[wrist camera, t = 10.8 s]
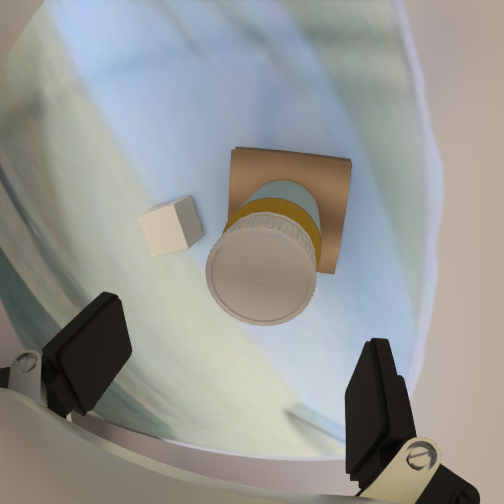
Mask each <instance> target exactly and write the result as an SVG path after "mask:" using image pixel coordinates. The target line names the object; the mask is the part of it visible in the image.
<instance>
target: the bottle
mask: <svg viewBox="0 0 504 504" xmlns="http://www.w3.org/2000/svg"><path fill="white" fill-rule="evenodd" d="M321 250H322V240H321V229H320V219H319V211H318V206H317V203H316V200H315V199H314V197H313V196H312V194H311V193H310V191H309V190H307V189H306V188H305V187H304V186H303V185H301V184H299V183H296V182H294V181H290V180H276V181H272V182H269V183H267V184H265V185H264V186H262V187H261V188H259V189H258V190H257V191H256V192H255V193H254V194H253V195H252V196H251V197H250V198H249V199H248V200H247V201H246V202H245V203H244V204H243V205H242V206H241V207H240V208H239V209H238V210H237V211H236V212H235V213H234V214H233V215H232V217H231V218H230V219H229V221H228V222H227V224H226V226H225V229H224V232H223V235H222V236H221V237H220V238H219V239H218V241H217V242H216V243H215V244H214V246H213V248H212V249H211V251H210V254H209V255H208V260H207V264H206V281H207V285H208V288H209V291H210V293H211V295H212V297H213V298H214V300H215V301H216V303H217V304H218V305H219V306H220V307H221V308H222V309H223V310H224V311H225V312H226V313H228V314H229V315H230V316H232V317H234V318H235V319H237V320H239V321H242V322H244V323H248V324H251V325H257V326H273V325H278V324H282V323H285V322H287V321H289V320H291V319H293V318H295V317H296V316H297V315H299V314H300V313H301V312H302V311H303V310H304V309H305V308H306V306H307V305H308V303H309V302H310V300H311V297H312V296H313V292H314V291H315V286H316V269H317V267H318V265H319V263H320V259H321Z"/></svg>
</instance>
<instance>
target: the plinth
mask: <svg viewBox="0 0 504 504" xmlns="http://www.w3.org/2000/svg"><path fill="white" fill-rule="evenodd" d="M351 168H352V163H351V160H350V159H344V158H338V157H331V156H324V155H316V154H308V153H300V152H291V151H281V150H270V149H258V148H243V147H236V148H235V150H232V151H231V169H230V189H229V210H228V221H229V219H230V218H231V217H232V215H233V214H234V213H235V212H236V211H237V210H238V209H239V208H240V207H241V206H242V205H243V204H244V203H245V202H246V201H247V200H248V199H249V198H250V197H251V196H252V195H253V194H254V193H255V192H256V191H257V190H258V189H259V188H261V187H262V186H264V185H265V184H267V183H269V182H272V181H276V180H290V181H294V182H296V183H299V184H301V185H303V186H304V187H305V188H306V189H307V190H309V191H310V193H311V194H312V196H313V197H314V199H315V200H316V203H317V206H318V211H319V219H320V229H321V240H322V250H321V259H320V263H319V265H318V267H317V269H316V272H321V273H329V274H334V273H335V268H336V263H337V258H338V252H339V247H340V241H341V236H342V230H343V224H344V218H345V211H346V205H347V198H348V191H349V184H350V176H351Z"/></svg>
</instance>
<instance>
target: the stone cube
mask: <svg viewBox="0 0 504 504" xmlns="http://www.w3.org/2000/svg"><path fill="white" fill-rule="evenodd" d="M137 218H138V221H139V224H140V226H141V229H142V232H143V235H144V237H145V240H146V243H147V245H148V248H149V250H150V253H151V255H152V257H154V256H158V255H162V254H167V253H171V252H175V251H180V250H184V249H188V248H190V247H191V246H192V245H193V244H194V243H195V242H196V241H197V240H198V239H199V238H200V237H201V236H202V235H203V234H204V233H203V230H202V227H201V224H200V221H199V218H198V215H197V212H196V209H195V206H194V202H193V199H192V196H191V195H190V196H187V197H184V198H181V199H178V200H174V201H171V202H168V203H165V204H162V205H159V206H156V207H154V208H152V209H150V210H148V211H147V212H145V213H143V214H141V215H139V216H137Z"/></svg>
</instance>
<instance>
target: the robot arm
mask: <svg viewBox="0 0 504 504" xmlns="http://www.w3.org/2000/svg"><path fill="white" fill-rule="evenodd" d="M42 352H43V355H42V356H40V354H39V353H38V352H37V351H34V350H26V351H22V352H20V353H19V354H18V355H16V356H15V357H14V359H13V360H12V363H11V367H6V368H1V369H0V504H480V495H479V493H478V491H477V489H476V488H475V487H474V486H472V485H471V484H469V483H468V482H466V481H465V480H463V479H462V478H461V477H459V476H458V475H456V474H455V473H453V472H452V471H450V470H449V469H447V468H446V467H445V466H443V465H441V464H440V462H441V452H440V449H439V447H438V446H437V444H436V443H435V442H433V441H432V440H430V439H428V438H425V437H417V435H416V430H415V426H414V420H413V415H412V410H411V406H410V401H409V397H408V393H407V389H406V385H405V381H404V378H403V377H402V376H401V375H397V371H396V367H395V363H394V359H393V355H392V352H391V348H390V344H389V341H388V339H382V338H372V339H371V341H370V342H369V341H366V343H365V345H364V347H363V350H362V353H361V355H360V358H359V360H358V363H357V365H356V368H355V370H354V373H353V375H352V377H351V380H350V382H349V384H348V387H347V389H346V392H345V423H346V473H347V474H350V481H359V488H360V490H359V491H358V492H357V493H356V494H355V495H354V496H339V495H323V494H308V493H297V492H288V491H280V490H272V489H264V488H259V487H252V486H247V485H242V484H237V483H232V482H227V481H223V480H218V479H214V478H210V477H206V476H202V475H199V474H195V473H192V472H188V471H185V470H181V469H178V468H175V467H172V466H169V465H166V464H163V463H160V462H158V461H155V460H152V459H149V458H147V457H144V456H142V455H139V454H137V453H134V452H132V451H129V450H127V449H124V448H122V447H120V446H118V445H115V444H113V443H111V442H109V441H107V440H104V439H103V438H100V437H98V436H96V435H94V434H92V433H90V432H88V431H86V430H85V429H83V428H81V427H79V426H77V425H75V424H73V423H72V422H71V414H70V412H71V411H72V410H74V411H75V412H77V413H79V414H81V415H82V416H85V414H86V413H87V412H88V411H91V410H92V409H93V408H94V406H95V405H96V403H97V402H98V400H99V399H100V398H101V396H102V395H103V393H104V392H105V391H106V389H107V388H108V386H109V385H110V384H111V382H112V381H113V379H114V378H115V377H116V375H117V374H118V373H119V371H120V370H121V368H122V367H123V366H124V364H125V363H126V362H127V360H128V359H129V358H130V356H131V354H132V346H131V342H130V338H129V334H128V330H127V325H126V321H125V316H124V312H123V307H122V302H121V300H120V299H119V297H118V296H117V295H116V294H113V293H109V292H102V293H101V294H100V295H99V296H98V297H97V298H95V299H94V300H93V301H92V302H91V303H90V304H89V305H88V306H87V307H86V308H85V309H83V310H82V311H81V312H80V313H79V314H78V315H77V316H76V317H75V318H74V319H73V320H72V321H71V322H69V323H68V324H67V325H66V326H65V327H64V328H63V329H62V330H61V331H60V332H59V333H58V334H57V335H56V336H55V337H54V338H53V339H52V340H51V341H50V342H49V343H48V344H47V345H46V346H45V347H44V348H43V349H42Z"/></svg>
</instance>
